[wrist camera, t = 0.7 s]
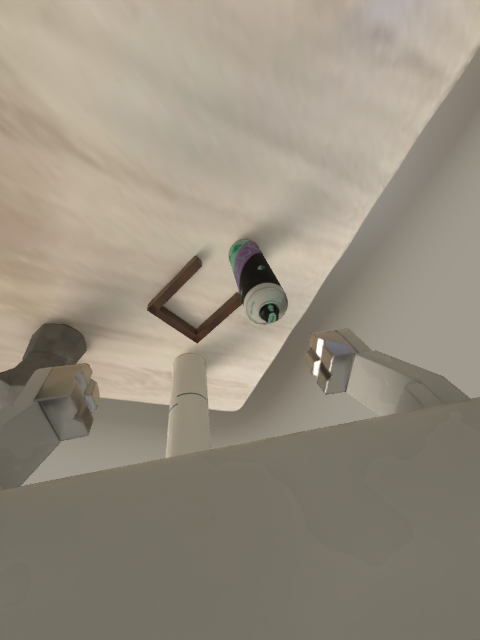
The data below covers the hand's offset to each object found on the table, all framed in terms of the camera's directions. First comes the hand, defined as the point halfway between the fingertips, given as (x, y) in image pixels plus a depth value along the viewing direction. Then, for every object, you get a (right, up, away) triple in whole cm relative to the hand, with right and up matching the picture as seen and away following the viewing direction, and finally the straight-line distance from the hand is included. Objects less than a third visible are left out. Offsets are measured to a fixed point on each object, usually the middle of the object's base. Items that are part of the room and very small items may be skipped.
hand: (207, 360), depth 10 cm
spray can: (+2, +13, +38) cm, 40 cm away
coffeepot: (-33, -3, +43) cm, 54 cm away
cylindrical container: (-10, -9, +51) cm, 52 cm away
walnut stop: (-7, +5, +41) cm, 42 cm away
